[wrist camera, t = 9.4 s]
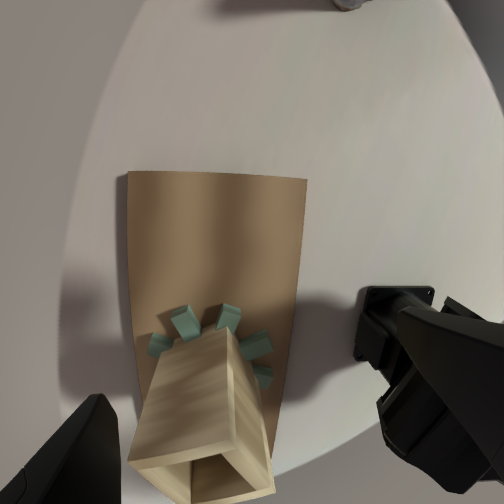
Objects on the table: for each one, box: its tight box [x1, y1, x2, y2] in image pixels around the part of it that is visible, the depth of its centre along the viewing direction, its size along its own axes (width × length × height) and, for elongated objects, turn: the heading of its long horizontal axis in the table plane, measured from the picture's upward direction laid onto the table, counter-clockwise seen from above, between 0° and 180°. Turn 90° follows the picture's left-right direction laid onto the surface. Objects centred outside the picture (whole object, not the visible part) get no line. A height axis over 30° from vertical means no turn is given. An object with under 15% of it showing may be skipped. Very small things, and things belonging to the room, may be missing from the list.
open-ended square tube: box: [127, 303, 276, 504], centre depth 16 cm, size 9×9×11 cm
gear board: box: [127, 171, 307, 459], centre depth 22 cm, size 11×25×1 cm, turn 176°
